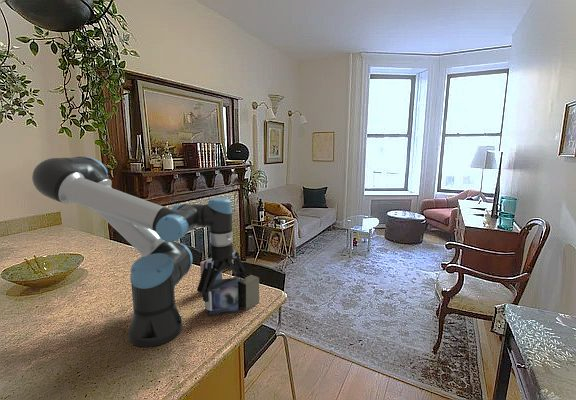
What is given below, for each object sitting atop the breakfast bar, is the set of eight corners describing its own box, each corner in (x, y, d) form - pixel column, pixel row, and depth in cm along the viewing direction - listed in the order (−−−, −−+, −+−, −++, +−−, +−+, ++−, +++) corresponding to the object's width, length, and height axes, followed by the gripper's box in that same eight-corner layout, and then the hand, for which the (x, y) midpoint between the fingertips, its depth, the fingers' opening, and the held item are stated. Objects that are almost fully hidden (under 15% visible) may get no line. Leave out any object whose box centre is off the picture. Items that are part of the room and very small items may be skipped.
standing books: (208, 294, 116) (207, 262, 114) (201, 290, 118) (200, 260, 116) (222, 287, 121) (221, 257, 119) (214, 284, 124) (213, 255, 122)
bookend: (246, 310, 104) (245, 284, 103) (238, 307, 107) (237, 281, 105) (259, 302, 110) (259, 277, 108) (251, 299, 112) (251, 274, 111)
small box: (207, 317, 100) (206, 288, 98) (207, 307, 106) (206, 279, 105) (238, 312, 103) (238, 284, 101) (237, 303, 109) (236, 277, 107)
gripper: (198, 256, 88) (202, 320, 92) (254, 236, 108) (255, 290, 112) (183, 251, 93) (187, 313, 96) (239, 233, 113) (241, 284, 116)
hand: (223, 301), depth 104 cm, fingers open, 13 cm apart
